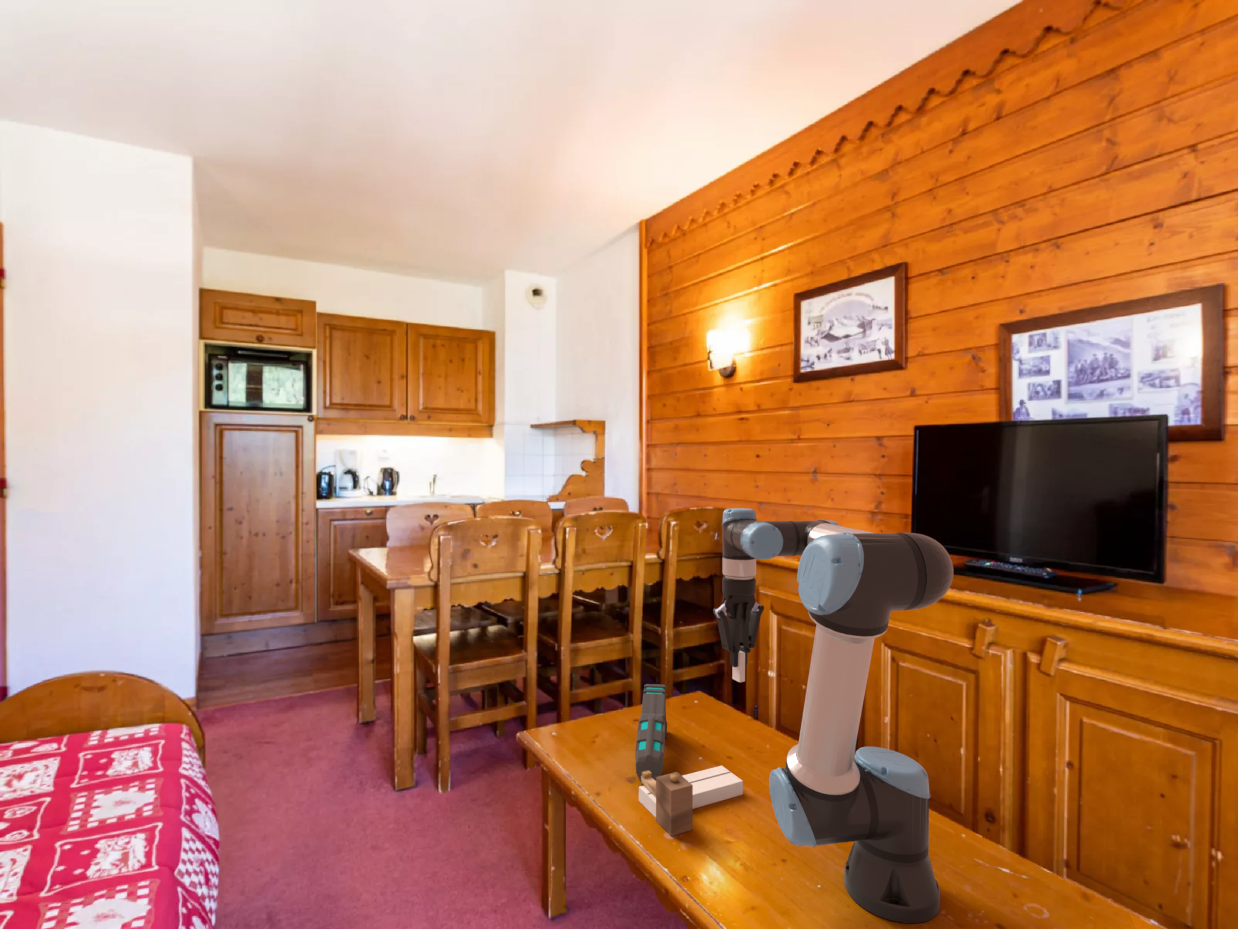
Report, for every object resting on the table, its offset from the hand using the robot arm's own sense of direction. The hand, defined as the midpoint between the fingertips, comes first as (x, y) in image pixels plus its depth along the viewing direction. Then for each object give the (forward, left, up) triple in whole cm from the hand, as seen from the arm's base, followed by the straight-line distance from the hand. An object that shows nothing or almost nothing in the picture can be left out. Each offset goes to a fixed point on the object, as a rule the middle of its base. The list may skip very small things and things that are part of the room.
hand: (738, 680), depth 143 cm
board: (+1, +12, -24) cm, 27 cm away
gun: (+22, +10, -25) cm, 34 cm away
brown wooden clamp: (-2, +21, -24) cm, 32 cm away
